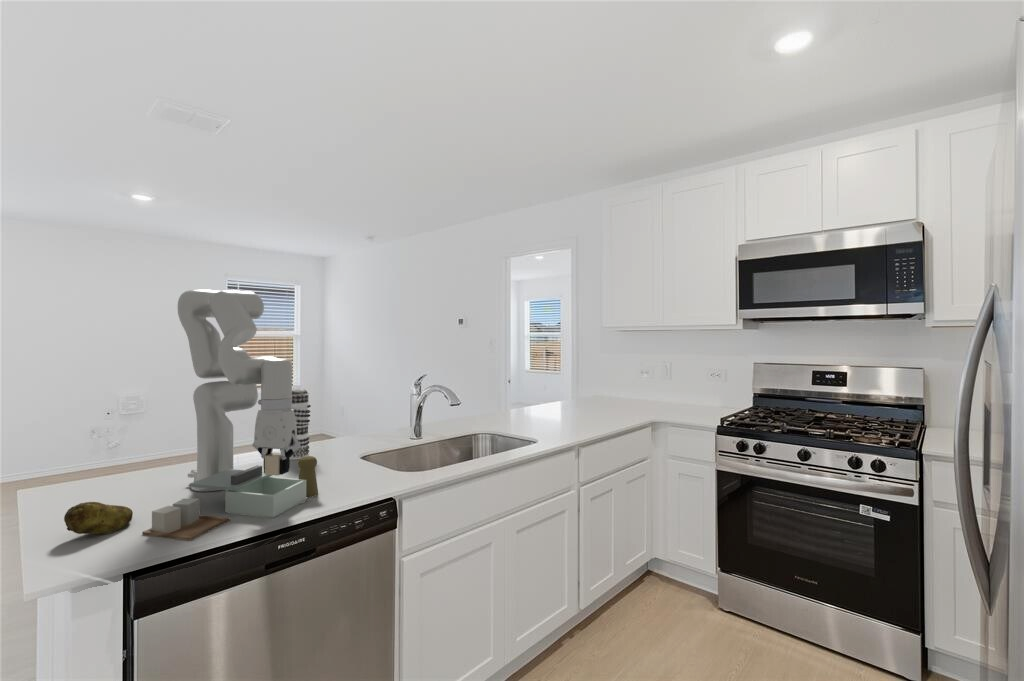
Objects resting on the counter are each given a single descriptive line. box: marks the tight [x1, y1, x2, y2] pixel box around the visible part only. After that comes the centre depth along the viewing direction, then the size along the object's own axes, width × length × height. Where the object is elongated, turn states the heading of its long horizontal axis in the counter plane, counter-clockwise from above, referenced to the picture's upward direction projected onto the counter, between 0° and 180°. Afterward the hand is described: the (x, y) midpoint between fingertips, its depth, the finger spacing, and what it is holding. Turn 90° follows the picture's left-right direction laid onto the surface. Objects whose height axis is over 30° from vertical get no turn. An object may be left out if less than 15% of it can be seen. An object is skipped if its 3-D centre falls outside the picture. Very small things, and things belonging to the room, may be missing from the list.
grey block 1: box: [151, 505, 181, 533], centre depth 118 cm, size 4×4×5 cm
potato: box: [63, 501, 134, 536], centre depth 117 cm, size 8×13×8 cm, turn 138°
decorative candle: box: [285, 388, 312, 460], centre depth 187 cm, size 9×9×25 cm
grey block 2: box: [172, 498, 200, 525], centre depth 124 cm, size 4×4×5 cm
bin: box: [224, 476, 307, 519], centre depth 135 cm, size 14×14×6 cm
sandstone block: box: [265, 451, 282, 477], centre depth 134 cm, size 4×4×5 cm
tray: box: [141, 514, 231, 542], centre depth 120 cm, size 13×12×1 cm
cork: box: [297, 455, 319, 498], centre depth 146 cm, size 6×6×11 cm
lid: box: [189, 464, 273, 491], centre depth 137 cm, size 14×14×3 cm
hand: (276, 471), depth 134 cm, fingers closed on sandstone block, 4 cm apart
